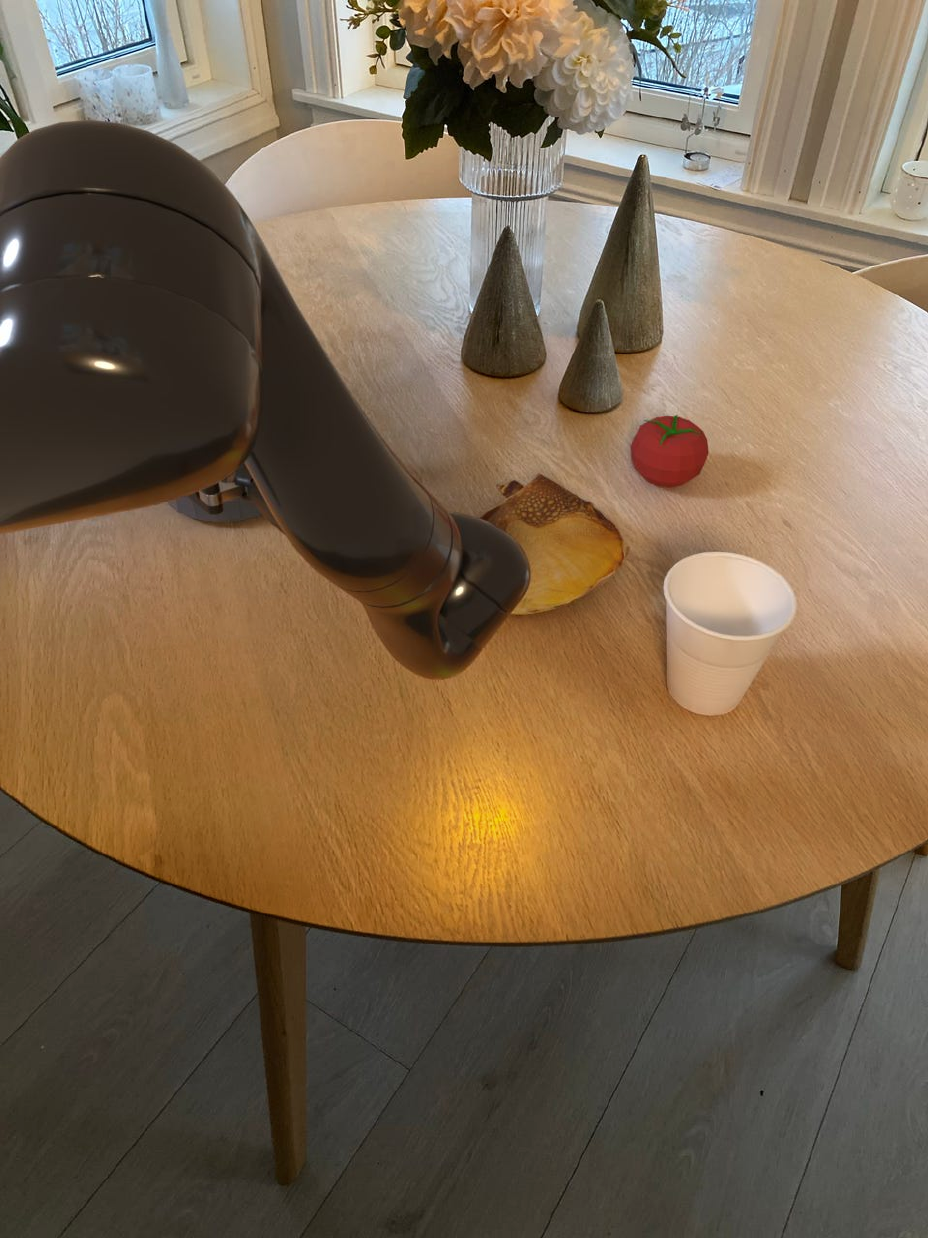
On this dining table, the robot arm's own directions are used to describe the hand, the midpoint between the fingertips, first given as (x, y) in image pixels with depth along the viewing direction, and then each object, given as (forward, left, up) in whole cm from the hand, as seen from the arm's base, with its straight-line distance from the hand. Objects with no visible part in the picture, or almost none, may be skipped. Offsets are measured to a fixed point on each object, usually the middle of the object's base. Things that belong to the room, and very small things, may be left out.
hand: (234, 435), depth 83 cm
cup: (+42, -10, -13) cm, 45 cm away
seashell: (+26, +4, -13) cm, 30 cm away
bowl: (-6, +10, -13) cm, 17 cm away
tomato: (+38, +20, -13) cm, 45 cm away
